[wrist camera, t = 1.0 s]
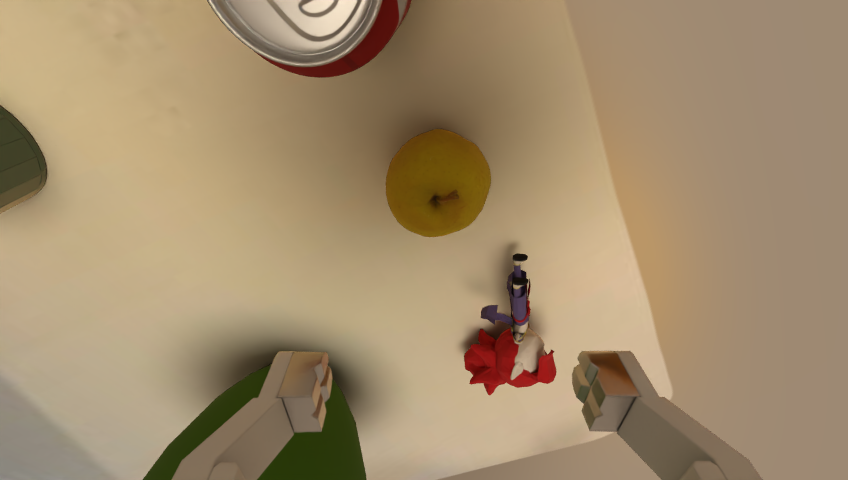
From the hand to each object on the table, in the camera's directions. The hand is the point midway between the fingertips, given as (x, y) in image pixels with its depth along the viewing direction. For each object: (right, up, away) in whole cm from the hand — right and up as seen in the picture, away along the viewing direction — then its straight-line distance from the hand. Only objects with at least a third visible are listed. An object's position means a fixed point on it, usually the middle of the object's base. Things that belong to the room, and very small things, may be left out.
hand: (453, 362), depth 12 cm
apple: (0, +10, +14) cm, 18 cm away
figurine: (+6, -2, +23) cm, 24 cm away
